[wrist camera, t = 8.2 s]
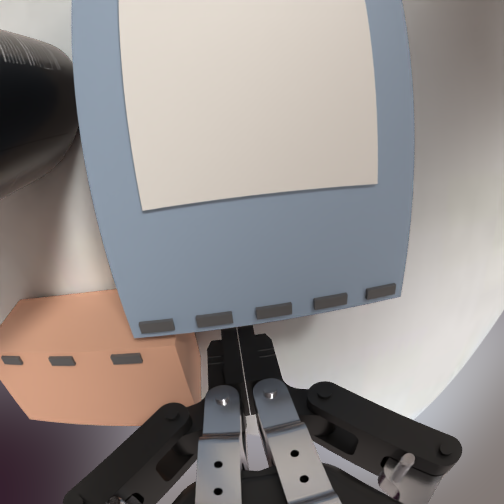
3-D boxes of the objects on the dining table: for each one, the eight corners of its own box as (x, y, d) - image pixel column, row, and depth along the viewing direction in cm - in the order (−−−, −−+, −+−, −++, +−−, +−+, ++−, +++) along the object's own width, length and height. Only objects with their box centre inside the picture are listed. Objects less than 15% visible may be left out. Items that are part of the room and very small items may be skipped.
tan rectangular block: (182, 280, 15) (174, 348, 11) (200, 356, 17) (201, 425, 13) (20, 299, 14) (-19, 353, 10) (53, 364, 16) (29, 420, 12)
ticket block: (334, -27, 10) (386, -72, 5) (351, 245, 16) (402, 298, 11) (114, -13, 9) (75, -61, 4) (152, 272, 15) (133, 341, 10)
